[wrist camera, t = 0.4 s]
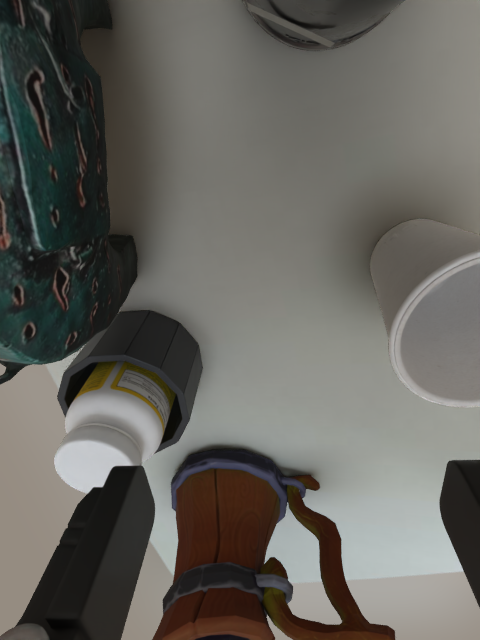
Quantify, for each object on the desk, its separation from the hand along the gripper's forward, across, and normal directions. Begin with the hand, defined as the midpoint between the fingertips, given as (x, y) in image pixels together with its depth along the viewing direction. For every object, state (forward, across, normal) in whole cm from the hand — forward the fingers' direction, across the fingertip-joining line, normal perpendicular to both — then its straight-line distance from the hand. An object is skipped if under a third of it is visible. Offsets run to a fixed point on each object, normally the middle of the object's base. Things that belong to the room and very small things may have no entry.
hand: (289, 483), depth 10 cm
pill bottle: (+18, +11, +8) cm, 23 cm away
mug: (+19, +3, +23) cm, 29 cm away
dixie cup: (+18, -9, +1) cm, 21 cm away
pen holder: (+18, +11, +8) cm, 23 cm away
